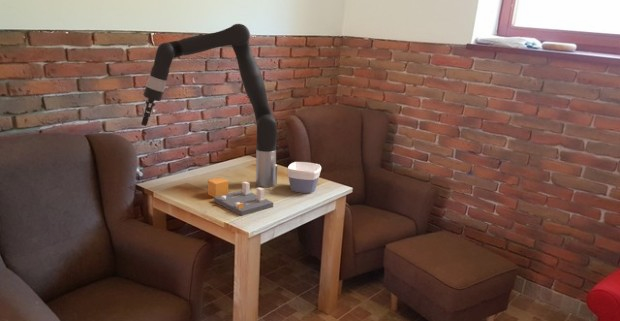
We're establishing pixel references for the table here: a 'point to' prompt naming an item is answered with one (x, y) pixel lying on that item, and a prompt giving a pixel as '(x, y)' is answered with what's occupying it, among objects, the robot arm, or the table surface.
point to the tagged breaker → (260, 195)
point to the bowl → (303, 176)
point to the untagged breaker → (245, 188)
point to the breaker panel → (242, 203)
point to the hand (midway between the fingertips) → (144, 123)
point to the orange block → (217, 187)
